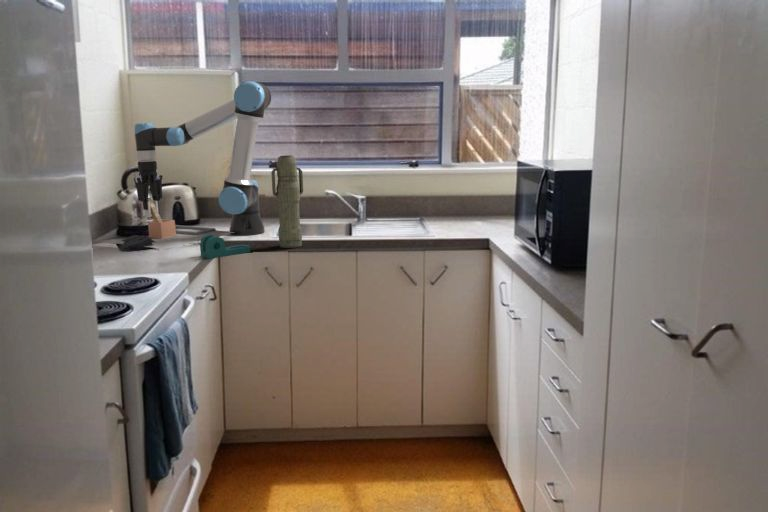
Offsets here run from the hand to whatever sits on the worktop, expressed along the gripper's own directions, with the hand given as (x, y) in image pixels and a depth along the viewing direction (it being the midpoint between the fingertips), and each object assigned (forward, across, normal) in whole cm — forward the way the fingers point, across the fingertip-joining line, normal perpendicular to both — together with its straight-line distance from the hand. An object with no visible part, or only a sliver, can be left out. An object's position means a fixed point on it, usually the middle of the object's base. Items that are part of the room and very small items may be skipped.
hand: (152, 216), depth 292 cm
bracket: (+10, +12, +53) cm, 55 cm away
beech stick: (+9, 0, +3) cm, 9 cm away
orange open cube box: (+10, 0, +5) cm, 11 cm away
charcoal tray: (+10, -14, +3) cm, 17 cm away
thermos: (+10, -10, +65) cm, 67 cm away
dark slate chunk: (+10, +15, +7) cm, 19 cm away
